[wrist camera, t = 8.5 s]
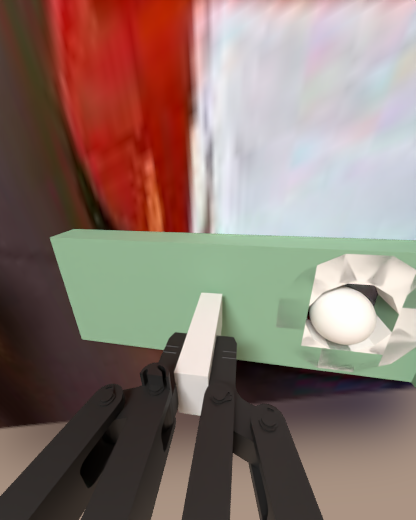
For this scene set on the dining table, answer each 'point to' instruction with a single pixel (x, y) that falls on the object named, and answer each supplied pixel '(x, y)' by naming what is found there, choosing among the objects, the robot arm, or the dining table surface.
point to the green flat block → (243, 293)
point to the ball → (343, 316)
